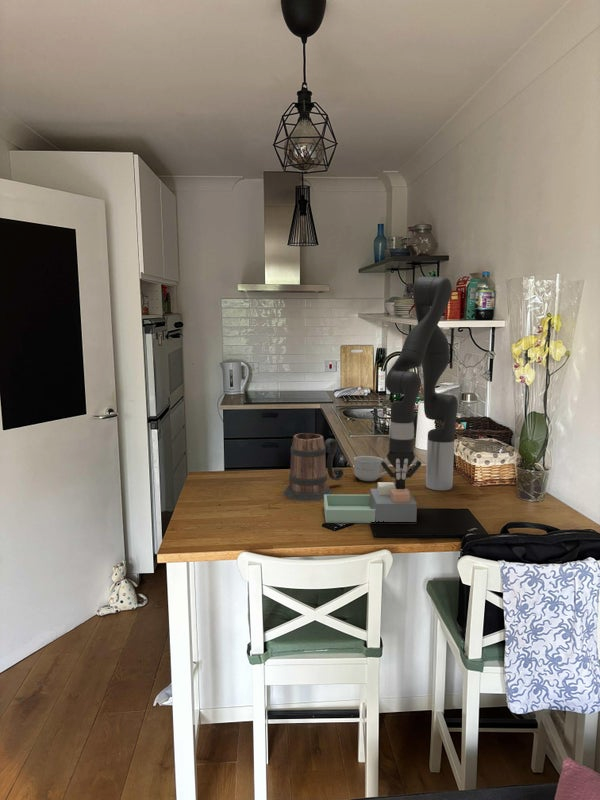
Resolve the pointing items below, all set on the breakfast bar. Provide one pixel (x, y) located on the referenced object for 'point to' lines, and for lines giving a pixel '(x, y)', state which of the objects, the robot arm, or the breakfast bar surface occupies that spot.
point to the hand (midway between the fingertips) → (399, 490)
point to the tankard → (311, 467)
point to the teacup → (368, 468)
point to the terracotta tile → (399, 495)
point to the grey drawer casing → (392, 508)
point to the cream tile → (385, 487)
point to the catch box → (348, 509)
